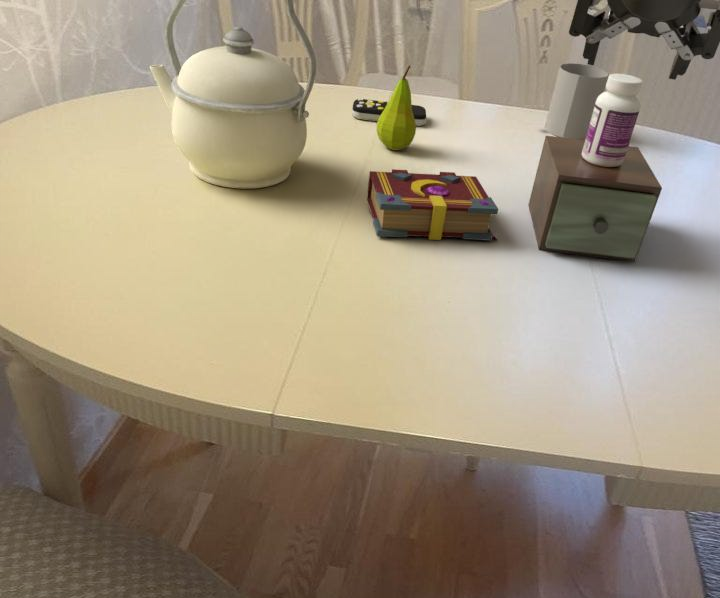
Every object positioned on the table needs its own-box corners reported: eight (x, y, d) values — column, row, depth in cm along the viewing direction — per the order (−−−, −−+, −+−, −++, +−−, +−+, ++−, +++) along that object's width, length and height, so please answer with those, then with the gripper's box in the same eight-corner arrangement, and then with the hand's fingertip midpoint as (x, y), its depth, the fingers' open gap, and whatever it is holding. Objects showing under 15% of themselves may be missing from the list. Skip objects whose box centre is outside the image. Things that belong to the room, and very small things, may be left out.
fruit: (366, 144, 120) (374, 61, 112) (394, 138, 124) (404, 57, 116) (393, 158, 117) (404, 73, 109) (421, 151, 120) (433, 68, 112)
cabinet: (635, 261, 97) (662, 187, 91) (538, 249, 97) (558, 174, 91) (615, 216, 108) (638, 147, 102) (528, 205, 108) (545, 135, 102)
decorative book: (365, 202, 103) (368, 165, 100) (478, 207, 106) (485, 171, 102) (376, 239, 95) (381, 200, 92) (499, 243, 98) (508, 205, 94)
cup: (564, 121, 140) (580, 61, 133) (600, 135, 135) (618, 74, 129) (535, 127, 135) (550, 65, 129) (571, 142, 131) (588, 79, 124)
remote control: (425, 127, 129) (427, 115, 128) (351, 119, 129) (352, 106, 128) (424, 116, 134) (426, 104, 133) (353, 108, 133) (354, 96, 132)
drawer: (636, 263, 95) (659, 202, 90) (547, 252, 95) (564, 190, 90) (615, 215, 106) (634, 159, 101) (535, 205, 106) (550, 148, 101)
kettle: (337, 169, 111) (352, -32, 94) (275, 211, 98) (280, -14, 81) (193, 130, 117) (183, -65, 101) (117, 165, 104) (91, -53, 88)
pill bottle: (629, 162, 97) (656, 80, 90) (610, 171, 93) (636, 87, 87) (592, 150, 99) (616, 69, 92) (572, 158, 96) (595, 74, 89)
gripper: (772, -85, 63) (710, 42, 79) (600, -109, 65) (574, 19, 81) (749, -1, 62) (692, 110, 78) (578, -28, 65) (556, 85, 81)
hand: (632, 64), depth 80 cm, fingers open, 8 cm apart
